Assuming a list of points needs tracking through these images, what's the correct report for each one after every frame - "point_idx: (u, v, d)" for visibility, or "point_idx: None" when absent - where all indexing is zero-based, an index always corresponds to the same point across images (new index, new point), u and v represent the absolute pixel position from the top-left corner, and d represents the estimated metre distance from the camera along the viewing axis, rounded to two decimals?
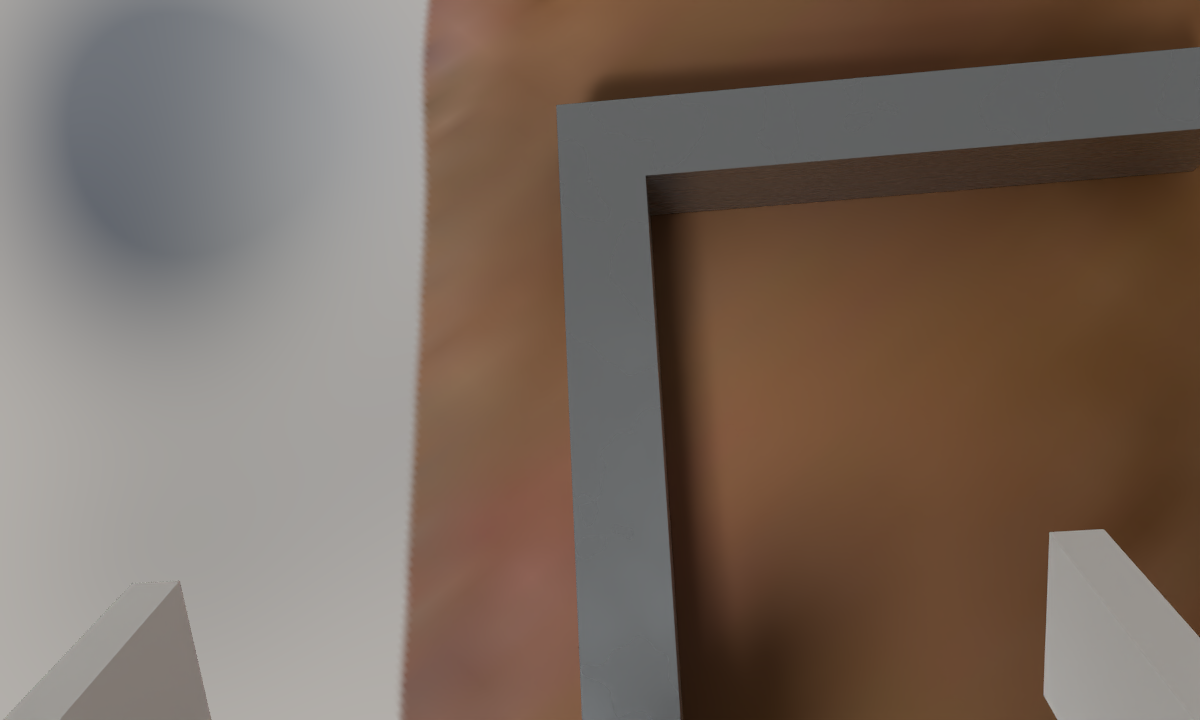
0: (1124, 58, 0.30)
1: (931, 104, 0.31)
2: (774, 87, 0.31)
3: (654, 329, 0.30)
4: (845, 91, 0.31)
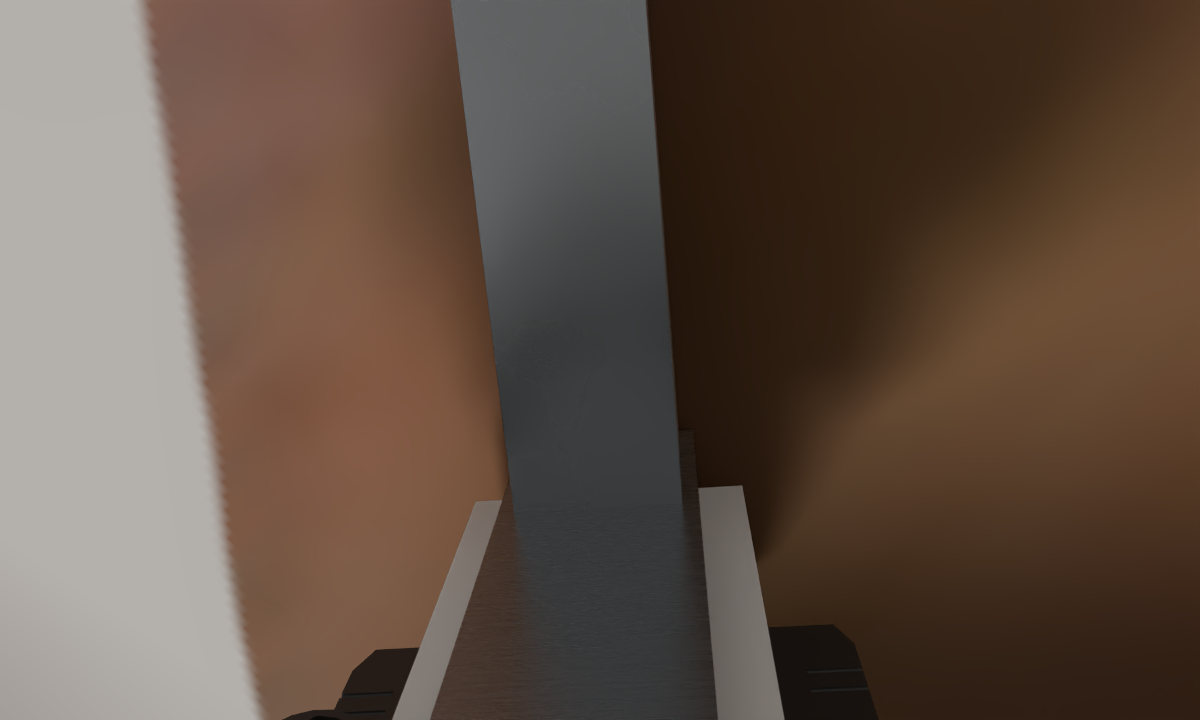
0: None
1: None
2: None
3: None
4: None
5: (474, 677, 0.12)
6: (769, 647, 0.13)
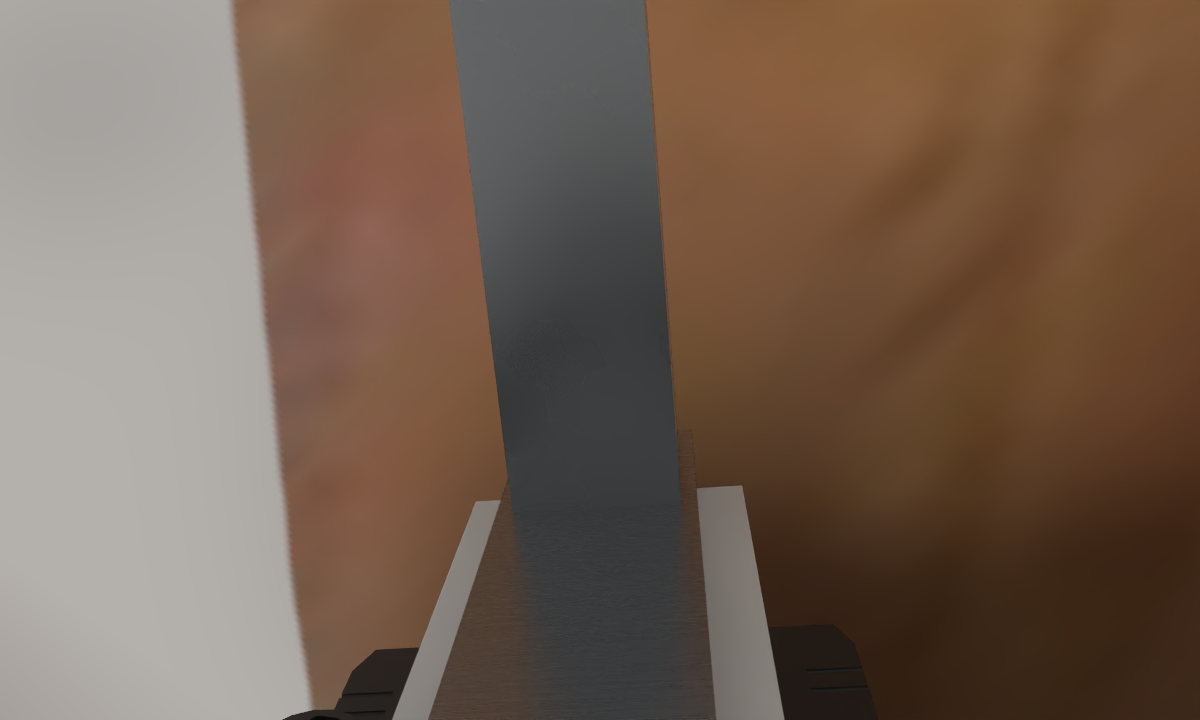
0: None
1: None
2: None
3: None
4: None
5: (472, 677, 0.12)
6: (769, 647, 0.13)
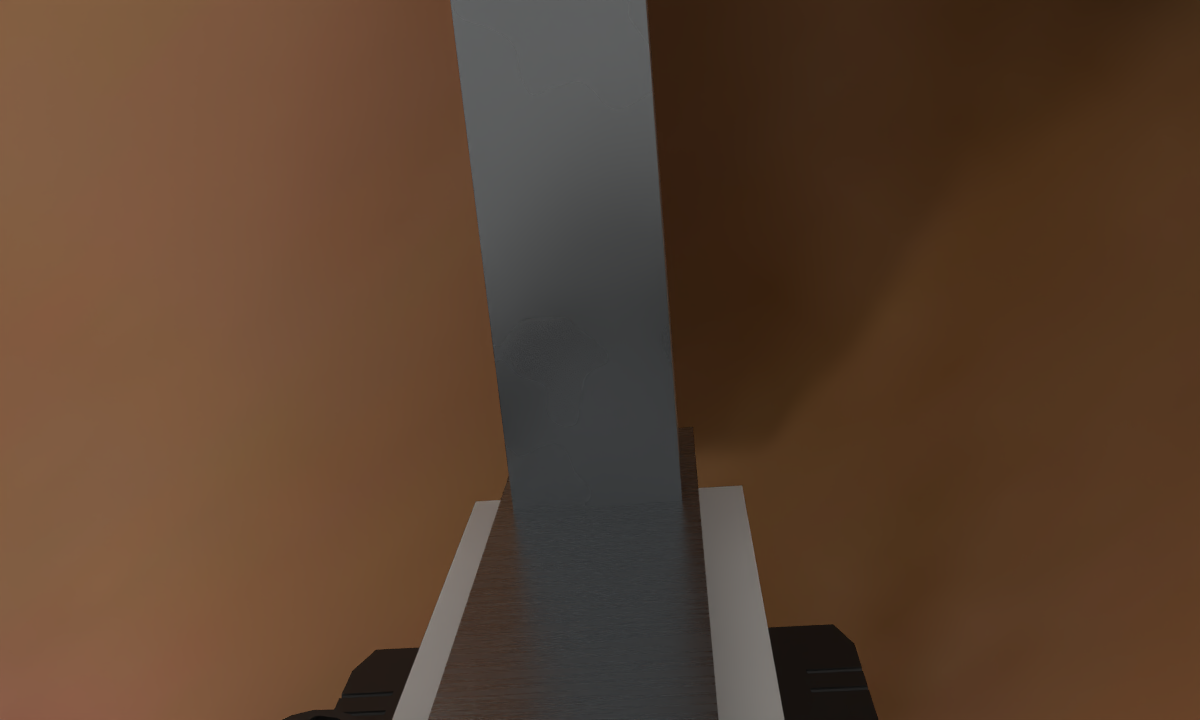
0: None
1: None
2: None
3: None
4: None
5: (473, 674, 0.12)
6: (769, 647, 0.13)
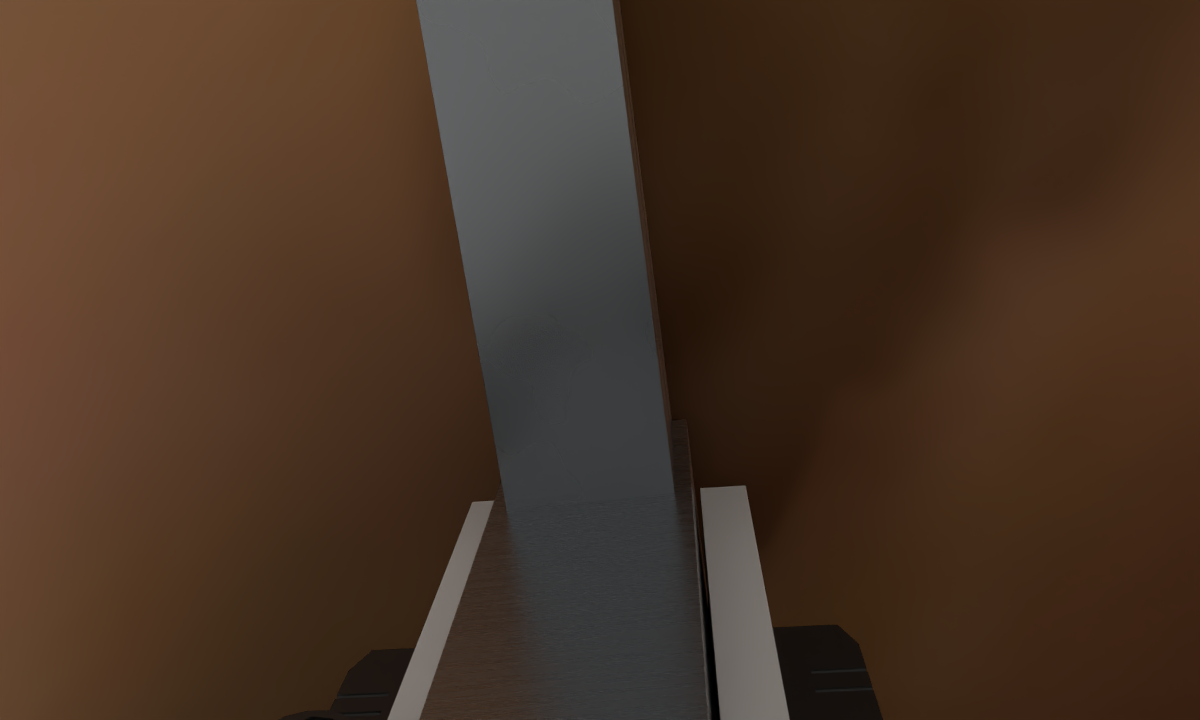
0: None
1: None
2: None
3: None
4: None
5: (464, 674, 0.12)
6: (774, 647, 0.13)
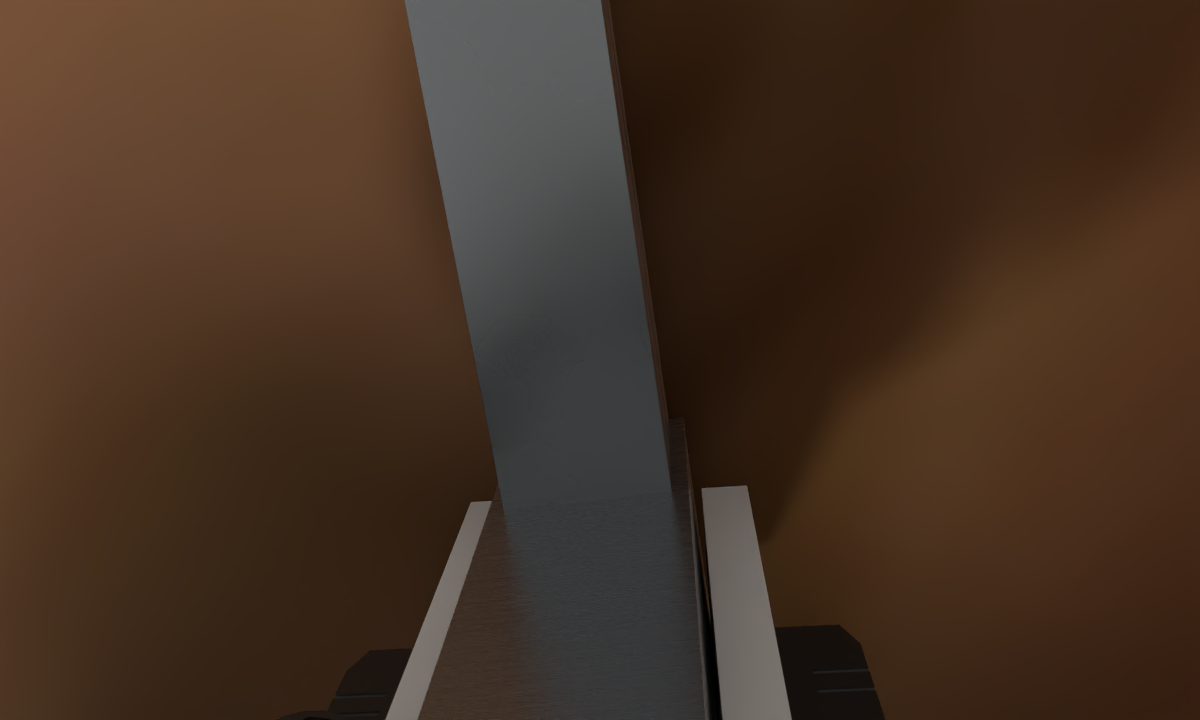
0: None
1: None
2: None
3: None
4: None
5: (462, 675, 0.12)
6: (776, 648, 0.13)
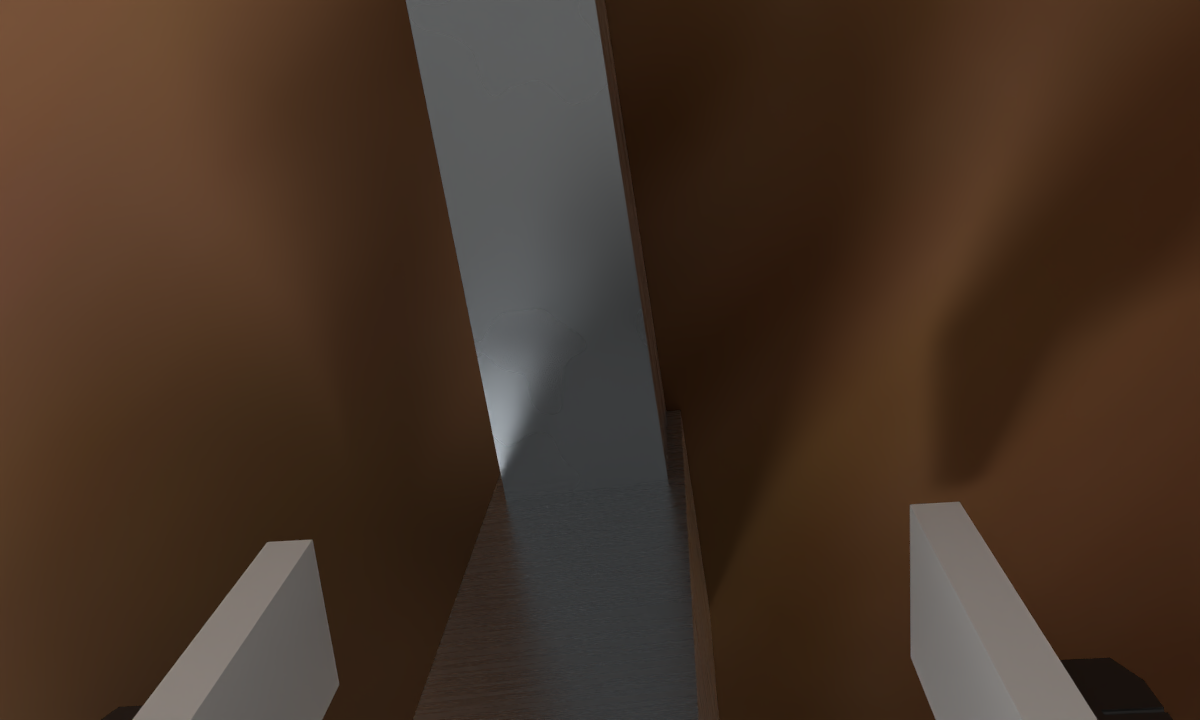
0: None
1: None
2: None
3: None
4: None
5: (465, 652, 0.12)
6: (1075, 688, 0.12)
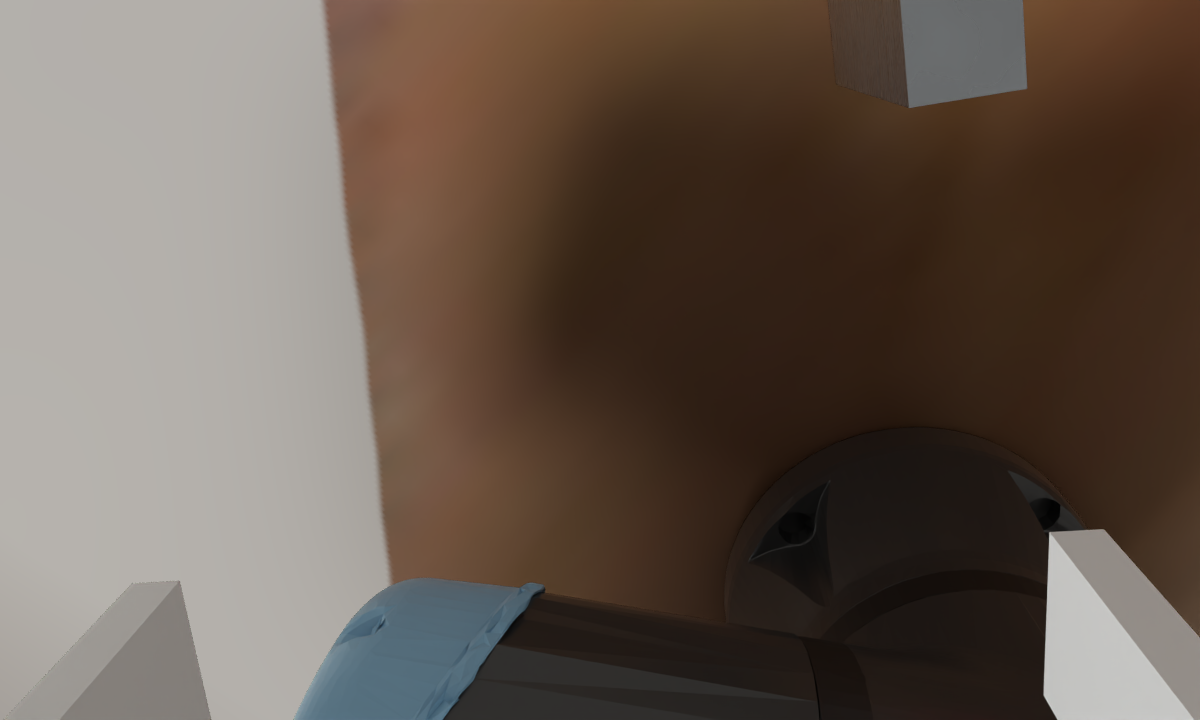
0: None
1: None
2: None
3: None
4: None
5: None
6: None
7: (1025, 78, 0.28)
